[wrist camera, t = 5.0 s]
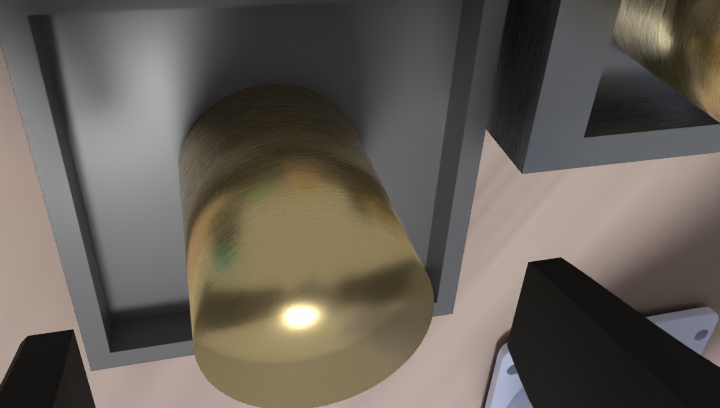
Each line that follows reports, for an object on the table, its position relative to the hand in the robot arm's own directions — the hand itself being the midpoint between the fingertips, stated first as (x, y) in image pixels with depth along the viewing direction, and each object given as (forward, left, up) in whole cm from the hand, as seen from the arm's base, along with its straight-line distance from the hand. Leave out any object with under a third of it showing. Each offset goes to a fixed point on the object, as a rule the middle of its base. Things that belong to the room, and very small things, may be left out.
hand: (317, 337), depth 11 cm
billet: (0, 0, -5) cm, 5 cm away
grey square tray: (0, 0, -6) cm, 6 cm away
